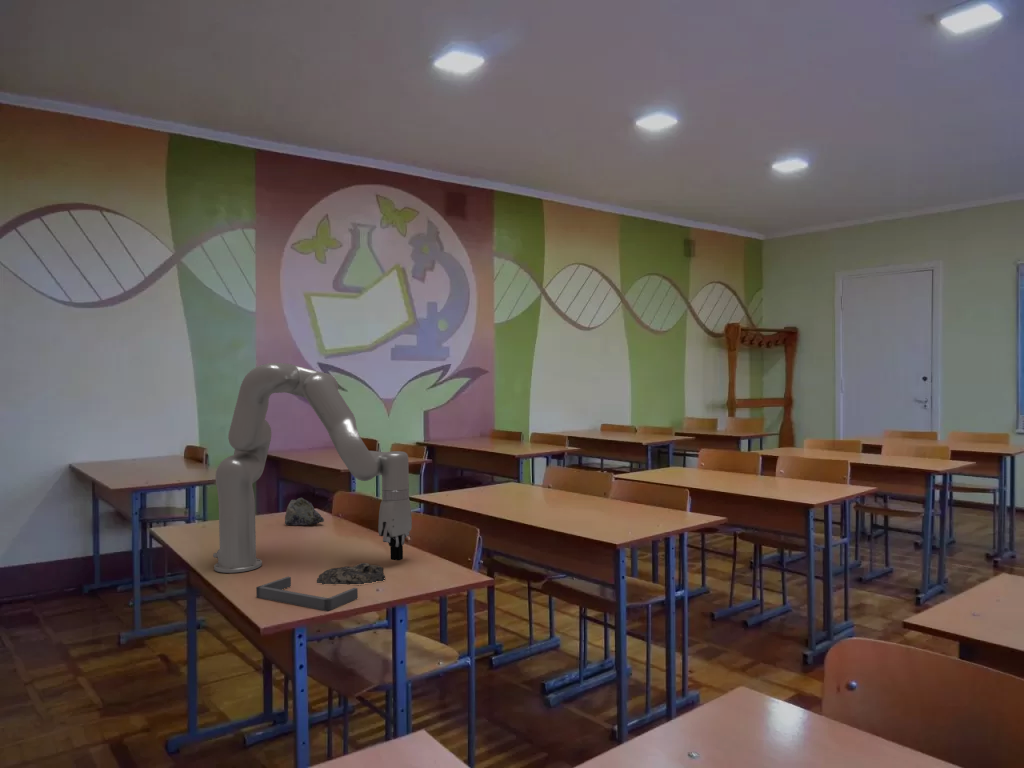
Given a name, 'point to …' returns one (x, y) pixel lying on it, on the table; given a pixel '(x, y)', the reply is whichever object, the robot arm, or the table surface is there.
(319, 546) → the table surface
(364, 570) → the grey rough rock slab
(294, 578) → the table surface
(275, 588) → the frame
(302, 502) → the mineral rock
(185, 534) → the table surface
